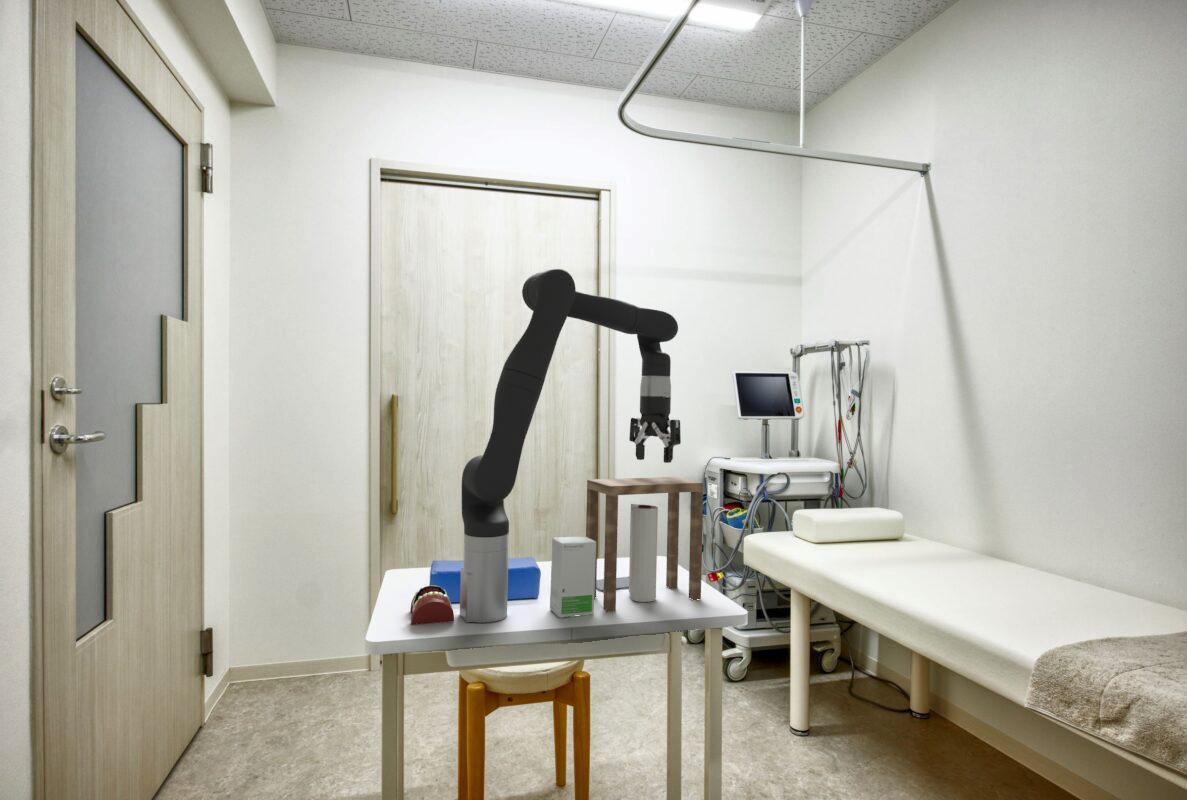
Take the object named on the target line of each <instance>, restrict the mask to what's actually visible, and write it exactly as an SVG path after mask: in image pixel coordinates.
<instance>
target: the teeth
mask: <svg viewBox="0 0 1187 800" xmlns="http://www.w3.org/2000/svg"><path fill="white" fill-rule="evenodd" d="M410 613H412V614H411V616H410V617H411V618H410V625H411V626H416V625H427V624H437V623H439V624H440V622H441V623H449V622H448V621H453V622H455V615H454V610H453V607H452V603H451V600H450V597H449V596H448V593H447V591H446V589H445V588H442V586H438V585H427V586H424V587H421V588H419V590H417V591H416V592H415V594H414V596H413V598H412V600H411V604H410Z"/></svg>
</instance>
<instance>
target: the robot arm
mask: <svg viewBox="0 0 1187 800" xmlns="http://www.w3.org/2000/svg"><path fill="white" fill-rule="evenodd" d="M521 293H522V295H521V296H522V299H523V301H524V304H525V305H526V306H527V308H528V309H530V310H531V311H533V312H532V315H531V318H530V321H529V323H528V325H527V327H526V329H525V331H524V333H523V334H522V336H521V337H520V338H519V340H517V343H516V344H515V345H514V347H513V349H511V352H510V353H509V354H508V357H507V358H506V360H505V362H504V364H503V367H502V369H501V373H500V376H499V379H498V382H497V384H496V385H497V386H496V389H495V395H494V401H493V402H494V403H493V421H492V430H491V432H490V437H489V439H488V442H487V444H486V448H485V449H484V451H483V454H479V455H477V456H474V457H473V458H471V459H470V460H468V462H467V463H466V464H465V466H464V468H463V471H462V476H461V516H462V521H463V536H464V537H463V564H462V565H463V566H462V567H461V569H460V585H459V586H460V588H459V614H460V616H461V618H462V619H463V620H464V621H465V622H466V623H482V624H483V623H493V622H497V621H498V622H499V621H501V620H503V619H505V618H506V617H507V616H508V587H509V586H508V584H509V583H508V582H509V551H510V550H509V548H510V547H509V544H510V538H509V537H510V533H509V532H510V521H509V517H508V515H507V514H506V509H505V504H504V503H505V502H504V500H505V499H506V498H507V497H508V496H509V495H510V494H511V493H512V490H513V489H514V486H515V484H516V480H517V476H518V471H519V467H520V461H521V456H522V452H523V448H524V445H525V444H524V443H525V440H526V436H527V435H528V431H529V428H530V425H531V423H532V419H533V416H534V413H535V410H536V409H537V408H536V407H537V405H538V402H539V400H540V397H541V394H542V389H543V387H544V383H545V380H546V377H547V374H548V370H549V367H550V364H551V361H552V358H553V355H554V352H555V349H556V345H557V342H558V340H559V338H560V334H561V331H562V330H563V327H564V325H565V323H566V320H567V318H573V319H578V320H580V321H585V322H589V323H591V324H594V325H597V326H601V327H604V328H608V329H611V330H612V331H617V332H620V333H623V334H625V335H626V334H627V335H636V338H637V339H636V340H637V343H638V348H639V352H640V356H641V360H642V361H641V380H640V385H639V386H640V388H639V389H640V390H639V391H640V392H639V398H640V399H639V414H641V415H640V417H630V425H629V438H628V439H629V441H630V442H633V443H634V444H635V457H636V459H637V461H638V460H639V461H643V460H645V447H646V446H645V445H646V444H645V443H646V441H647V439H649V438H650V437H655V438H656V437H657V438H658V439H659V440H660V441H662V443H663V446H664V447H663V463H667V464H669V463H672V461H673V460H674V459H673V458H674V447H675V446H678V445H681V441H682V440H681V420H680V419H670V414H671V410H672V408H671V405H672V404H671V402H672V401H671V400H672V384H671V383H672V382H671V368H672V367H671V365H672V364H671V363H672V362H671V357H670V355H669V353H666V352H663V351H662V347H661V343H666V342H669V341H671V340H673V339H674V338H675V337H676V336H677V334H678V332H679V324H678V322H677V320H676V318H675V317H674V316H673V315H672V314H670V313H669V312H666V311H663V310H658V309H651V308H647V307H640V306H637V305H635V304H633V303H630V302H626V301H623V300H620V299H617V298H613V297H608V296H603V295H602V296H601V295H596V294H595V295H594V294H590V293H586V292H585V293H584V292H581V291H577V290H576V283H575V280H574V278H573V276H572V275H571V274H570V273H569V272H568V271H567V270H565V269H561V268H551V269H547V270H544V271H540V272H537V273H535V274H532V275H531V276H529V277H528V278H527V279H526V280H525V282H524V283H523V285H522V291H521ZM668 428H669V429H668Z"/></svg>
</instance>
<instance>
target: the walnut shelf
mask: <svg viewBox="0 0 1187 800" xmlns="http://www.w3.org/2000/svg"><path fill="white" fill-rule="evenodd" d="M599 493H601V494H604V495H605V509H604V511H605V514H604V515H605V516H604V521H605V522H604V556H603V557H604V559H603V561H604V565H603V566H604V567H603V569H604V570H603V579H604V591H603V606H602V607H603V608H602V609H603V611H605V610H606V611H605V612H607V613H609V612H610V613H611V611H612V612H616V609H617V608H616V607H617V590H616V578H617V574H618V573H617V569H618V568H617V566H618V565H617V564H618V562H617V561H618V560H617V557H618V525H619V524H618V520H619V519H618V518H619V513H618V512H619V496H629V495H630V496H631V495H652V494H653V495H654V494H655V495H656V494H667V527H666V528H667V529H666V530H667V534H666V535H667V536H666V573H665V574H666V578H665V579H666V580H665V581H666V583H665V587H666V586H667V587H666V588H668V587H669V588H668V589H670V588H673V589H677V588H678V584H679V583H678V580H679V579H678V578H679V577H678V576H679V535H680V534H679V532H680V530H679V529H680V527H679V525H680V493H690V512H689V513H690V514H689V517H690V518H689V520H690V521H689V527H690V528H689V560H688V561H689V562H688V563H689V564H688V565H689V568H688V570H689V571H688V599H689V598H691V599H693V600H696V601H698V600H697V599H702V566H703V565H702V563H703V561H702V560H703V558H702V556H703V554H702V553H703V515H704V514H703V513H704V512H703V510H704V509H703V507H704V482H703V481H702V482H701V481H698V480H697V481H696V480H692V479H687V478H683V477H679V476H661V477H659V476H657V477H634V478H632V477H630V478H629V477H627V478H625V477H624V478H604V479H603V478H597V479H595V478H594V479H586V512H585V513H586V518H585V537H587V538H589V539H591V540H594V541H596V560H595V591H594V597H596V598H597V589H596V580H598V579H597V578H598V577H597V573H598V572H597V571H598V570H597V569H598V567H597V566H598V565H597V564H598V526H599V525H598V524H599ZM676 587H677V588H676ZM691 599H690V600H691ZM693 600H692V601H693Z"/></svg>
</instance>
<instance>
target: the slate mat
mask: <svg viewBox="0 0 1187 800" xmlns="http://www.w3.org/2000/svg"><path fill="white" fill-rule="evenodd" d="M626 588H627V589H629V576H622V577H616V591H617V589H618V590H626ZM597 589H598V590H597ZM596 590H597V591H599V592H600V591H601V592H604V578H603V579H596Z"/></svg>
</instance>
